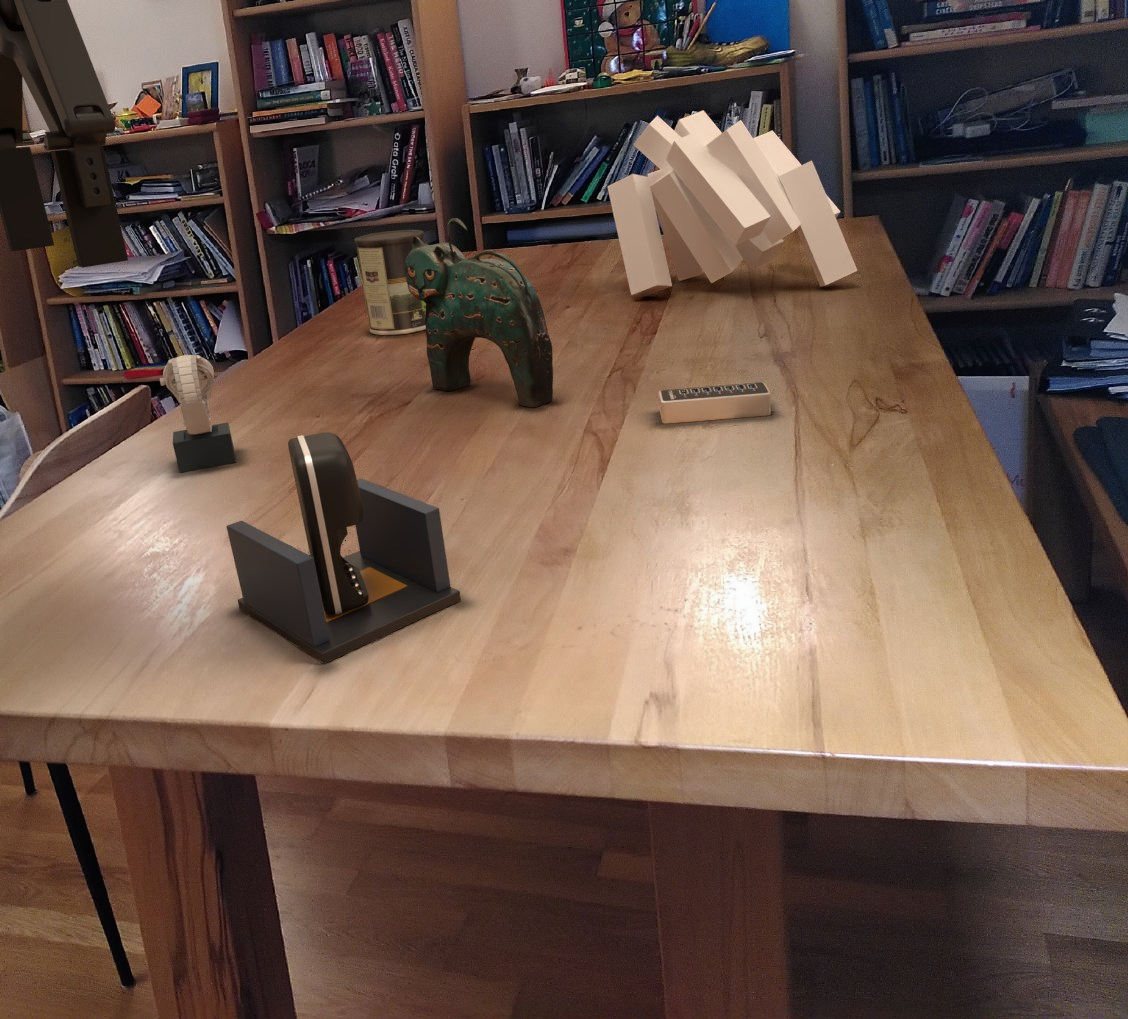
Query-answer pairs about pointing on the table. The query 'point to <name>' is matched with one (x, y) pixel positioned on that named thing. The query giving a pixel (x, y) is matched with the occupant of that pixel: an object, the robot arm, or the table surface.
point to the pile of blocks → (721, 206)
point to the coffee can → (389, 282)
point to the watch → (197, 415)
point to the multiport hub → (714, 402)
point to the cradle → (386, 562)
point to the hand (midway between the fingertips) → (65, 255)
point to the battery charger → (329, 515)
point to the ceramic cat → (480, 317)
